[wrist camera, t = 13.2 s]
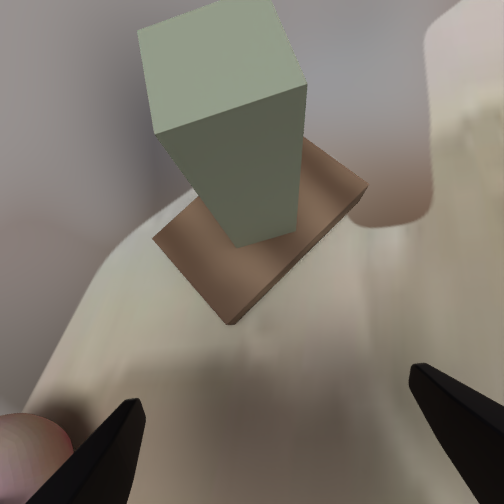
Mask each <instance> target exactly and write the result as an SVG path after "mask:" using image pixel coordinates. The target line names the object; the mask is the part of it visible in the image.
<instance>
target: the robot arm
mask: <svg viewBox="0 0 504 504" xmlns="http://www.w3.org/2000/svg"><path fill="white" fill-rule="evenodd" d="M409 388H410V390H411V392H412V394H413V396H414V398H415V400H416V401H417V403H418V405H419V407H420V409H421V411H422V412H423V414H424V416H425V418H426V420H427V422H428V423H429V425H430V427H431V429H432V431H433V433H434V434H435V436H436V438H437V439H438V441H439V443H440V444H441V446H442V448H443V449H444V451H445V452H446V454H447V455H448V457H449V458H450V460H451V461H452V463H453V464H454V466H455V467H456V469H457V470H458V472H459V473H460V475H461V477H462V478H463V480H464V481H465V483H466V484H467V486H468V487H469V489H470V490H471V492H472V493H473V495H474V496H475V498H476V499H477V501H478V502H479V504H504V406H502V405H500V404H499V403H497V402H495V401H493V400H492V399H490V398H488V397H486V396H484V395H483V394H481V393H479V392H477V391H475V390H474V389H472V388H470V387H468V386H466V385H465V384H463V383H461V382H459V381H457V380H456V379H454V378H452V377H450V376H448V375H447V374H445V373H443V372H441V371H439V370H438V369H436V368H434V367H432V366H430V365H429V364H427V363H417V364H413V365H412V366H411V369H410V375H409ZM145 423H146V416H145V413H144V410H143V407H142V404H141V401H140V399H139V398H132V399H126V400H125V401H123V402H122V403H121V404H120V405H119V406H118V408H117V409H116V410H115V411H114V412H113V413H112V414H111V415H110V416H109V417H108V418H107V419H106V420H105V421H104V422H103V423H102V424H101V425H100V426H99V427H98V428H97V429H96V430H95V431H94V432H93V433H92V434H91V435H90V437H89V438H88V439H87V440H86V441H85V442H84V443H83V444H82V445H81V446H80V447H79V448H78V449H77V450H76V451H75V452H74V453H73V454H72V455H71V456H70V457H69V458H68V459H67V460H66V461H65V462H64V463H63V464H62V466H61V467H60V468H59V469H58V470H57V471H56V472H55V473H54V474H53V475H52V476H51V477H50V478H49V479H48V480H47V481H46V482H45V483H44V484H43V485H42V486H41V487H40V488H39V489H38V490H37V491H36V492H35V493H34V494H33V496H32V497H31V498H30V499H29V500H28V501H27V502H26V503H25V504H127V501H128V497H129V494H130V491H131V487H132V483H133V480H134V475H135V471H136V466H137V461H138V457H139V452H140V447H141V442H142V437H143V433H144V428H145Z"/></svg>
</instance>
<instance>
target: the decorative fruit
mask: <svg viewBox="0 0 504 504" xmlns="http://www.w3.org/2000/svg"><path fill="white" fill-rule="evenodd" d="M72 454H73V447H72V443H71V440H70V438H69V436H68V435H67V433H66V432H65V431H64V430H63V429H62V428H61V427H60V426H59V425H57V424H56V423H55V422H53V421H51V420H48V419H46V418H44V417H40V416H37V415H33V414H27V413H14V414H7V415H2V416H0V504H25V503H26V502H27V501H28V500H29V499H30V498H31V497H32V496H33V494H34V493H35V492H36V491H37V490H38V489H39V488H40V487H41V486H42V485H43V484H44V483H45V482H46V481H47V480H48V479H49V478H50V477H51V476H52V475H53V474H54V473H55V472H56V471H57V470H58V469H59V468H60V467H61V466H62V464H63V463H64V462H65V461H66V460H67V459H68V458H69V457H70V456H71V455H72Z"/></svg>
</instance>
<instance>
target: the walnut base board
mask: <svg viewBox="0 0 504 504" xmlns="http://www.w3.org/2000/svg"><path fill="white" fill-rule="evenodd" d="M368 185H369V184H368V183H367V182H365V181H364V180H363V179H361V178H360V177H359V176H357V175H356V174H354V173H353V172H352V171H350V170H349V169H347V168H346V167H345V166H343V165H342V164H341V163H339V162H338V161H336V160H335V159H334V158H332V157H331V156H330V155H328V154H327V153H325V152H324V151H323V150H321V149H320V148H319V147H317V146H316V145H314V144H313V143H312V142H310V141H309V140H307V139H306V138H304V137H303V146H302V159H301V172H300V185H299V198H298V210H297V223H296V231H295V232H291V233H288V234H284V235H281V236H278V237H274V238H271V239H267V240H264V241H261V242H257V243H254V244H250V245H247V246H243V247H240V248H236V247H235V245H234V244H233V243H232V241H231V240H230V238H229V237H228V236H227V234H226V233H225V231H224V230H223V229H222V227H221V226H220V225H219V223H218V222H217V220H216V219H215V218H214V216H213V215H212V213H211V212H210V211H209V209H208V208H207V207H206V205H205V204H204V202H203V201H202V200H201V198H200V197H199V196H198V197H197V198H196V199H195V200H194V201H193V202H191V203H190V204H189V205H188V206H187V207H186V208H185V209H184V210H183V211H182V212H180V213H179V214H178V215H177V216H176V217H175V218H174V219H173V220H172V221H171V222H169V223H168V224H167V225H166V226H165V227H164V228H163V229H162V230H161V231H160V232H159V233H157V234H156V235H155V236H154V237H153V238H152V239H153V240H154V241H155V243H156V244H157V245H158V246H159V247H160V248H161V250H162V251H163V252H164V253H165V254H166V255H167V257H168V258H169V259H170V260H171V261H172V262H173V264H174V265H175V266H176V267H177V268H178V269H179V270H180V272H181V273H182V274H183V275H184V276H185V277H186V279H187V280H188V281H189V282H190V283H191V284H192V286H193V287H194V288H195V289H196V290H197V291H198V293H199V294H200V295H201V296H202V297H203V298H204V300H205V301H206V302H207V303H208V304H209V305H210V307H211V308H212V309H213V310H214V311H215V312H216V314H217V315H218V316H219V317H220V318H221V319H222V321H223V322H224V323H225V324H226V325H234V324H236V323H237V322H238V321H239V320H240V319H241V318H242V317H243V316H244V315H245V314H246V313H247V312H248V311H249V310H250V309H251V308H252V307H253V306H254V305H255V304H256V303H257V302H258V301H259V300H260V299H261V298H262V297H263V296H264V295H265V294H266V293H267V292H268V291H269V290H270V289H271V288H272V287H273V286H274V285H275V284H276V283H277V282H278V281H279V280H280V279H281V278H282V277H283V276H284V275H285V274H286V273H287V272H288V271H289V270H290V269H291V268H292V267H293V266H294V265H295V264H296V263H297V262H298V261H299V260H300V259H301V258H302V257H303V256H304V255H305V254H306V253H307V252H308V251H309V250H310V249H311V248H312V247H313V246H314V245H315V244H316V243H317V242H318V241H320V240H321V239H322V238H323V237H324V236H325V235H326V234H327V233H328V232H329V231H330V230H331V229H332V228H333V227H334V226H335V225H336V224H337V223H338V222H339V221H340V220H341V219H342V218H343V217H344V216H345V215H346V214H347V213H348V212H349V211H350V210H351V209H352V208H353V207H354V206H355V205H356V204H357V203H358V202H359V201H360V199H361V197H362V196H363V194H364V192H365V190H366V189H367V187H368Z"/></svg>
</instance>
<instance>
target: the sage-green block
mask: <svg viewBox="0 0 504 504" xmlns="http://www.w3.org/2000/svg"><path fill="white" fill-rule="evenodd" d="M137 34H138V39H139V45H140V51H141V57H142V63H143V68H144V75H145V81H146V87H147V93H148V99H149V105H150V111H151V116H152V123H153V129H154V134H155V136H156V137H157V138H158V140H159V141H160V143H161V144H162V146H163V147H164V148H165V150H166V151H167V152H168V154H169V155H170V157H171V158H172V159H173V161H174V162H175V164H176V165H177V166H178V168H179V169H180V170H181V172H182V173H183V175H184V176H185V177H186V179H187V180H188V182H189V183H190V184H191V186H192V187H193V189H194V190H195V191H196V193H197V194H198V195H199V197H200V198H201V200H202V201H203V202H204V204H205V205H206V207H207V208H208V209H209V211H210V212H211V213H212V215H213V216H214V218H215V219H216V220H217V222H218V223H219V225H220V226H221V227H222V229H223V230H224V231H225V233H226V234H227V236H228V237H229V238H230V240H231V241H232V243H233V244H234V245H235V247H236V248H240V247H243V246H247V245H250V244H254V243H257V242H261V241H264V240H267V239H271V238H274V237H278V236H281V235H284V234H288V233H291V232H295V231H296V223H297V210H298V198H299V185H300V172H301V159H302V146H303V134H304V121H305V108H306V95H307V82H306V80H305V77H304V75H303V73H302V70H301V68H300V66H299V63H298V61H297V59H296V57H295V54H294V52H293V50H292V47H291V45H290V42H289V40H288V38H287V36H286V33H285V31H284V29H283V26H282V24H281V22H280V20H279V17H278V15H277V13H276V10H275V8H274V6H273V3H272V1H271V0H221V1H218V2H215V3H212V4H209V5H207V6H204V7H201V8H198V9H196V10H193V11H190V12H187V13H185V14H182V15H179V16H176V17H174V18H171V19H168V20H165V21H163V22H160V23H157V24H155V25H152V26H149V27H146V28H143V29H141V30H138V31H137Z"/></svg>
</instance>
